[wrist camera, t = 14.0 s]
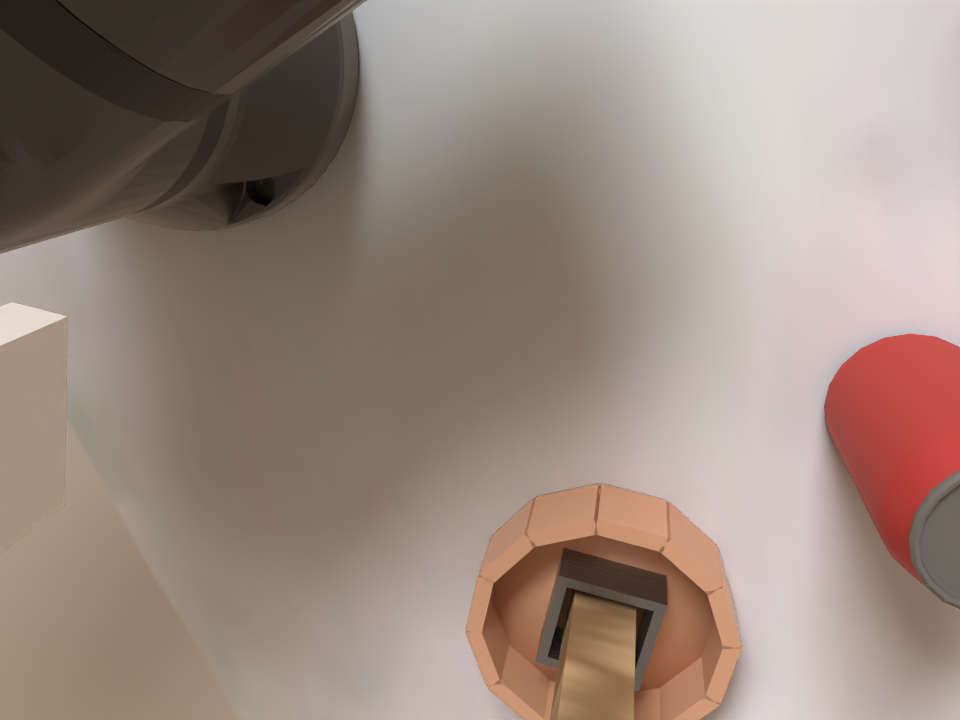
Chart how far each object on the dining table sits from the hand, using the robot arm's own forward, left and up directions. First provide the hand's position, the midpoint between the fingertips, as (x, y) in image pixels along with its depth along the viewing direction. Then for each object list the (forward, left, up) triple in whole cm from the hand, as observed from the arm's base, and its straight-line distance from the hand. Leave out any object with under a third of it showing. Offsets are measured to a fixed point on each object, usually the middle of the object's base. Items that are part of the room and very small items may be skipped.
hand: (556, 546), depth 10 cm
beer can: (+14, -6, -29) cm, 33 cm away
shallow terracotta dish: (+4, -20, -29) cm, 35 cm away
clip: (+4, -20, -29) cm, 35 cm away
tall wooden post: (+4, -20, -28) cm, 35 cm away
